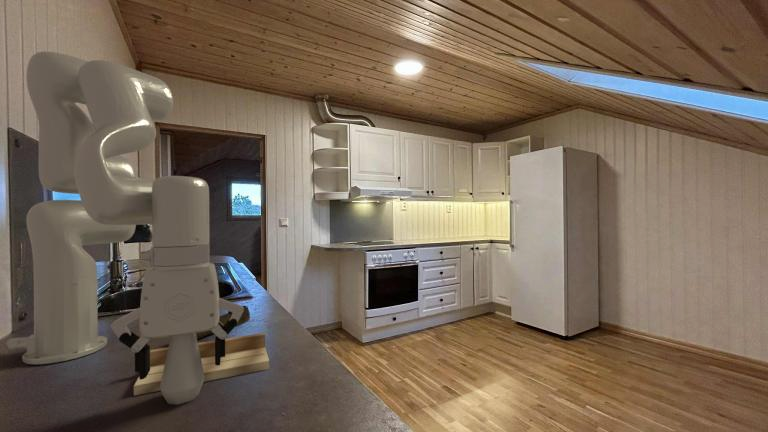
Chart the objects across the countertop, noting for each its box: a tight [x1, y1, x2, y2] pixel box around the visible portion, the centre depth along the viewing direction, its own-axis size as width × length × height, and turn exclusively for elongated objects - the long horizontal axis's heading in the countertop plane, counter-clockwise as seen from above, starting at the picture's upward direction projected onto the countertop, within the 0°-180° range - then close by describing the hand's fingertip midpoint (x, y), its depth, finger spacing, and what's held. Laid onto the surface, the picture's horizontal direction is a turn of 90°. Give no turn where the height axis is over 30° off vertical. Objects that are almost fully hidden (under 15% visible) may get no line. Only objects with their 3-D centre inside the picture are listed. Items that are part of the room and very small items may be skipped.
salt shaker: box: [160, 333, 204, 406], centre depth 50 cm, size 6×6×13 cm
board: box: [133, 332, 270, 396], centre depth 60 cm, size 20×10×4 cm, turn 115°
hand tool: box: [196, 305, 251, 340], centre depth 80 cm, size 19×4×5 cm, turn 153°
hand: (183, 368), depth 50 cm, fingers open, 9 cm apart
